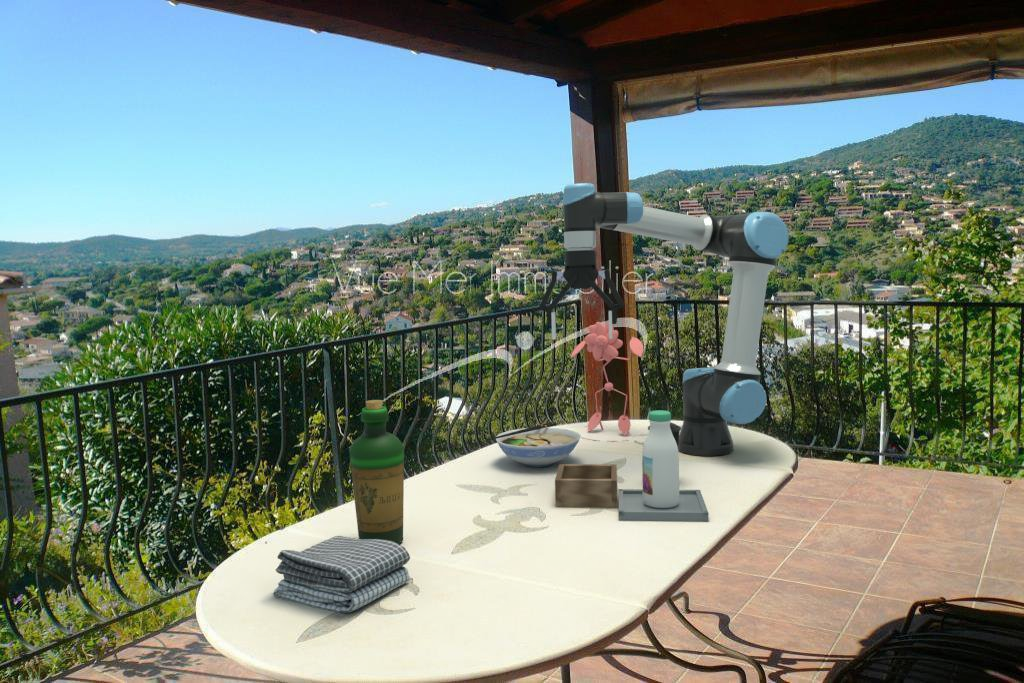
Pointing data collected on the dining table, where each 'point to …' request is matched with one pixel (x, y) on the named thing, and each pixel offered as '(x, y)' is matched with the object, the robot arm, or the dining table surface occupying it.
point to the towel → (342, 573)
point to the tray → (686, 510)
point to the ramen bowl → (538, 444)
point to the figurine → (607, 350)
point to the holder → (586, 485)
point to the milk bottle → (660, 463)
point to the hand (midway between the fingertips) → (582, 338)
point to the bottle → (378, 477)
